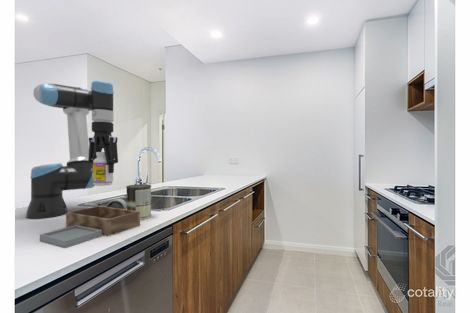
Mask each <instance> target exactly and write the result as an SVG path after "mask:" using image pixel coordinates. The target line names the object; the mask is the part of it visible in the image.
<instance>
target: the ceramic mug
mask: <svg viewBox="0 0 470 313" xmlns="http://www.w3.org/2000/svg"><path fill="white" fill-rule="evenodd" d="M105 207H111V208H119V209H126V210H127V201H125V200H124V199H122V198H117V199H112V200H111V201H109V202H108V203H107V204H106V206H105Z"/></svg>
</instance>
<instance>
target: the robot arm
mask: <svg viewBox="0 0 470 313" xmlns="http://www.w3.org/2000/svg"><path fill="white" fill-rule="evenodd" d="M90 84H91V85H90V86H91V87H90V90H88V89H87V88H83V87H78V86H77V87H76V86H69V85H65V84H57V83H41V84H38V85H37V86H35V88H34V89H33V97H34V98H35V100H36V101H37V102H39V103H40V104H42V105H44V106H48V107H52V108H58V109H62V111H63V113H64V114H65V115H66V116H67V117H66V120H67V134H68V135H67V136H68V152H69V160H68V161H67V162H66V166H65V165H64V166H63V163H52V164H51V163H49V164H43V165H42V164H41V165H37V166H33V167H32V168H31V171H30V177H29V178H30V202H29V205H28V206H27V209H26V213H25V215H26V219H45V218H53V217H58V216H62V215H66V213H67V212H68V206H67V204H66V202H65V199H64V196H63V192H64V191H73V190H74V191H75V190H86V189H92V188H94V187H95V185H94V184H93V161H94V159H96V158H97V156H96V152H105V157H106V161H107V163H106V182H112V183H113V182H114V172H115V164H117V163H119V155H118V136H113V135H112V133H114V123H113V122H114V93H115V92H114V85H113V84H112V83H111V82H109V81H104V80H93V81H92V82H91V83H90ZM90 111H91V121H92V122H91V132H93V133H94V134H93V136H92V137H89V131H88V122H87V116H88V115H89V114H90Z"/></svg>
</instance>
